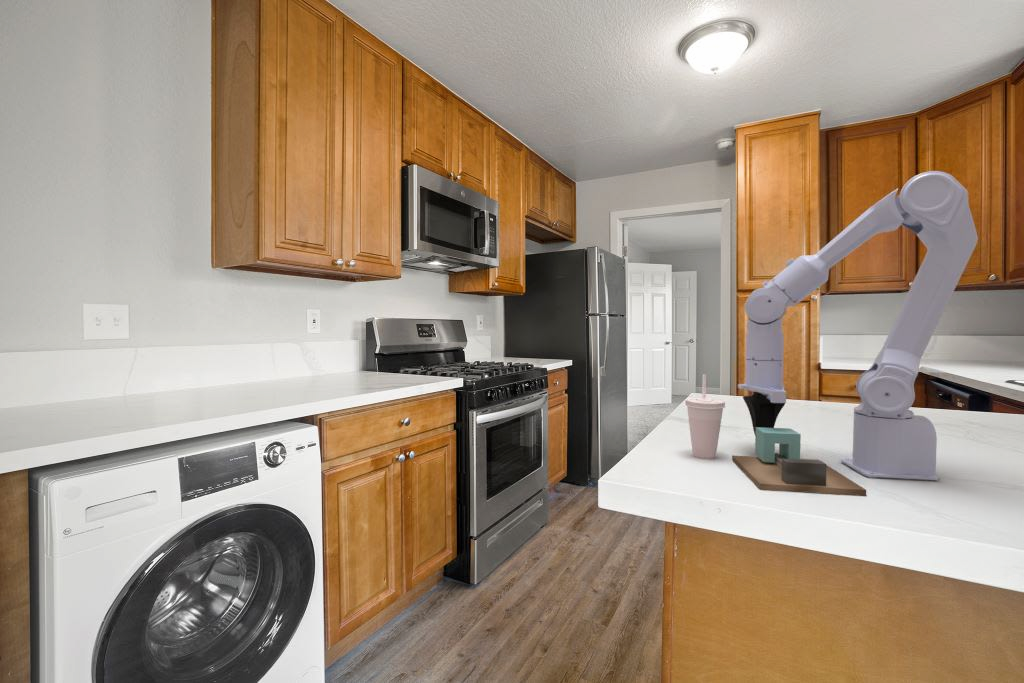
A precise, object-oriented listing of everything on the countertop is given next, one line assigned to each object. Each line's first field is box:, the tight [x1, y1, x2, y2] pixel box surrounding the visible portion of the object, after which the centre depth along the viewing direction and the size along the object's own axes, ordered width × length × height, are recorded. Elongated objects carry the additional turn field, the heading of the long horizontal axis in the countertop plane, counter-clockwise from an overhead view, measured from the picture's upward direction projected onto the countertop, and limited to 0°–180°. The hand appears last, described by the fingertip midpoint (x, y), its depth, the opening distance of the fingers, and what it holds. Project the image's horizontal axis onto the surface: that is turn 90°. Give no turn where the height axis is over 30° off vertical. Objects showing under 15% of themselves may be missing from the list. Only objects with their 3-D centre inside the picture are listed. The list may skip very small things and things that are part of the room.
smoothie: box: [684, 374, 726, 460], centre depth 80 cm, size 6×6×14 cm
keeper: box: [754, 427, 802, 463], centre depth 74 cm, size 5×4×5 cm
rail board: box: [731, 452, 867, 497], centre depth 70 cm, size 13×14×4 cm
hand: (762, 437), depth 81 cm, fingers closed
